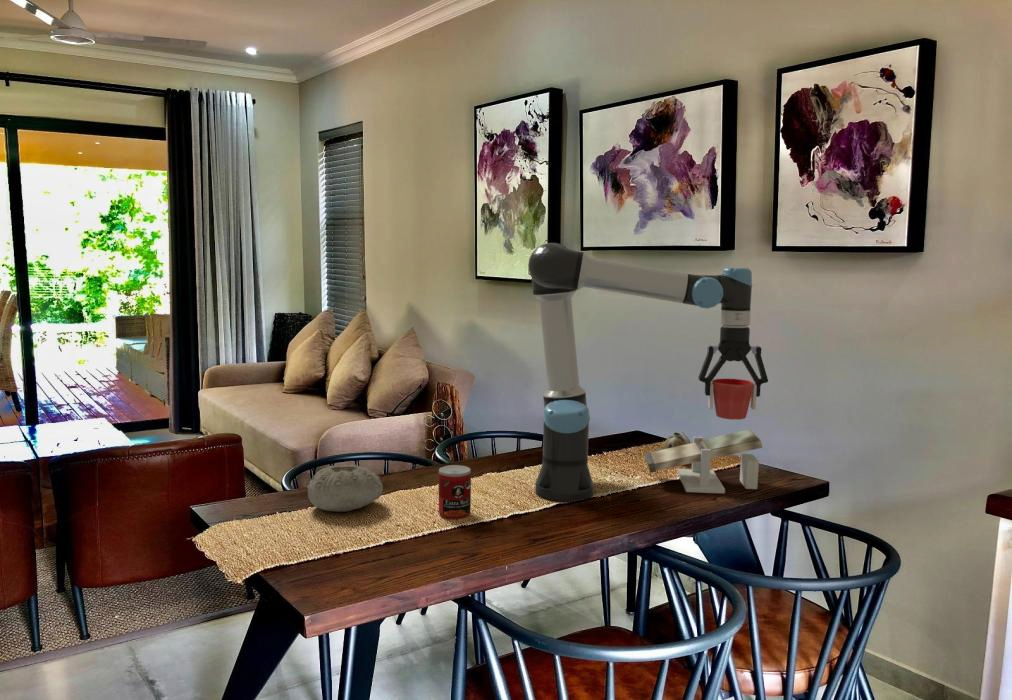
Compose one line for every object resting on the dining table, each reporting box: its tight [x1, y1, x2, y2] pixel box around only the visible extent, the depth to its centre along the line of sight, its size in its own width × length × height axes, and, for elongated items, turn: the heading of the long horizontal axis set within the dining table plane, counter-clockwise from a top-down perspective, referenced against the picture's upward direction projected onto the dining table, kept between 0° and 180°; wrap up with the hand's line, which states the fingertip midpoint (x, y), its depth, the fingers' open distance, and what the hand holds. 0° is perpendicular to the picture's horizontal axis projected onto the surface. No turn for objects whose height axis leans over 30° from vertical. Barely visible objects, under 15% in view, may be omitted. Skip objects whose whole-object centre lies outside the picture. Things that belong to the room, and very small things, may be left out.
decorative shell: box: [306, 464, 384, 513], centre depth 197 cm, size 18×18×10 cm
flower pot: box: [711, 378, 755, 421], centre depth 218 cm, size 11×11×10 cm
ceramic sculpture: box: [655, 431, 691, 451], centre depth 246 cm, size 11×9×15 cm
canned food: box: [438, 464, 472, 520], centre depth 193 cm, size 8×8×11 cm
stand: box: [676, 436, 760, 494], centre depth 222 cm, size 20×18×11 cm
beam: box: [644, 429, 763, 474], centre depth 222 cm, size 30×12×3 cm, turn 85°
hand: (731, 408), depth 218 cm, fingers closed on flower pot, 10 cm apart
